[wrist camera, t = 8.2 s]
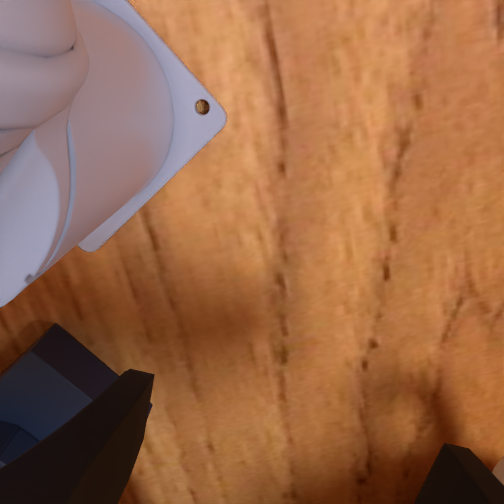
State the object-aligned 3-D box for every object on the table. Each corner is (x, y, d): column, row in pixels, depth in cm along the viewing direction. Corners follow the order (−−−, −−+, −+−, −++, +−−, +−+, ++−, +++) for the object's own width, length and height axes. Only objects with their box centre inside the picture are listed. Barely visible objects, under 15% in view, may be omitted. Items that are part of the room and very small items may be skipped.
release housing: (-74, 431, 23) (-143, 501, 19) (47, 315, 20) (-6, 371, 16) (32, 506, 24) (-12, 584, 21) (159, 410, 21) (135, 480, 18)
